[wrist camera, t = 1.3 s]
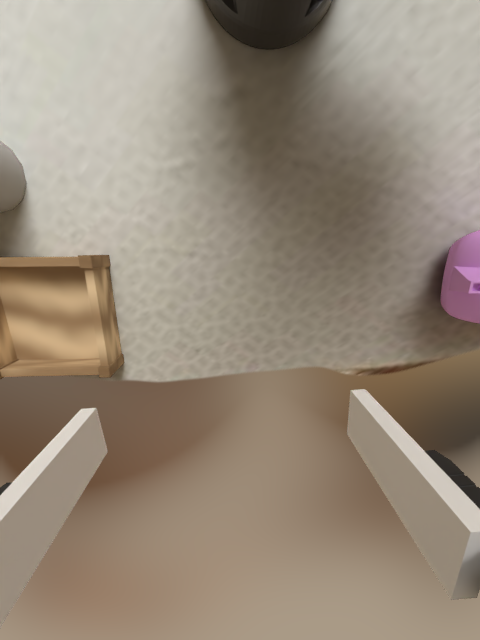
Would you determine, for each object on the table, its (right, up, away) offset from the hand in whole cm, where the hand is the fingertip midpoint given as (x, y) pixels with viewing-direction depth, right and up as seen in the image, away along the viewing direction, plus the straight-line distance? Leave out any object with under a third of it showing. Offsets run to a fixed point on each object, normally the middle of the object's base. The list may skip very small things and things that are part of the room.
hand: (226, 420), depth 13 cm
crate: (-24, +6, +21) cm, 33 cm away
